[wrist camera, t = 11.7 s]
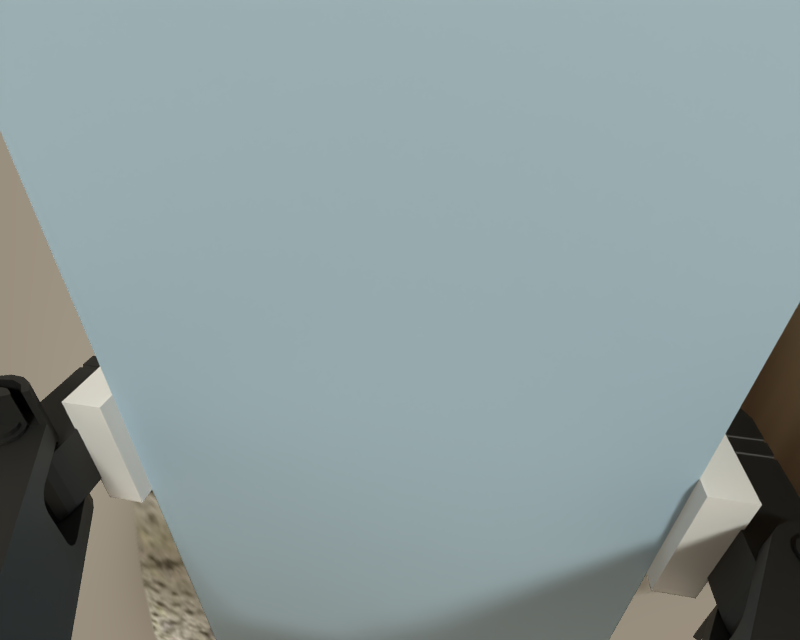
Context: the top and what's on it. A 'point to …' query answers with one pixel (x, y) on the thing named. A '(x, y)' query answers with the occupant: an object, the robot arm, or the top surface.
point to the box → (780, 400)
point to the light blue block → (416, 284)
